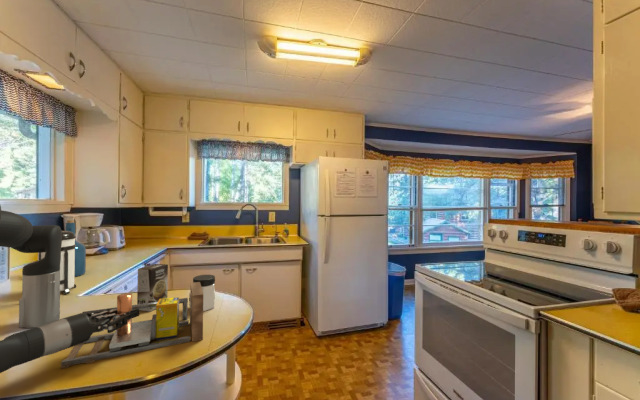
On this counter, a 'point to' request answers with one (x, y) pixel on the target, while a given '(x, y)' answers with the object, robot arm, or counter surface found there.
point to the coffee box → (152, 284)
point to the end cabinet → (196, 311)
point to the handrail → (153, 304)
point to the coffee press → (66, 261)
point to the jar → (207, 290)
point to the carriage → (132, 327)
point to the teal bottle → (77, 251)
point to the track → (100, 339)
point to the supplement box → (167, 318)
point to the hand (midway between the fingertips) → (134, 310)
